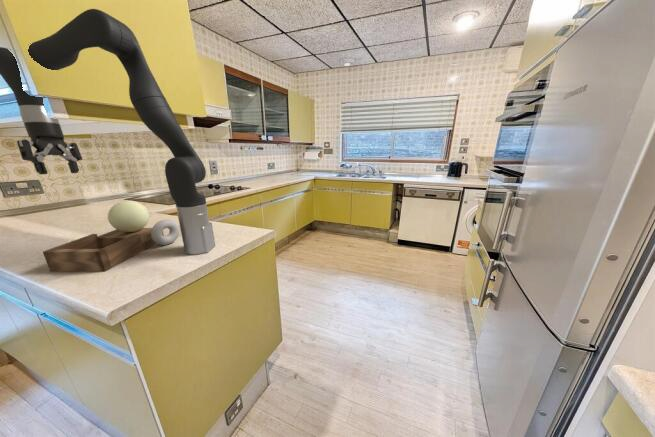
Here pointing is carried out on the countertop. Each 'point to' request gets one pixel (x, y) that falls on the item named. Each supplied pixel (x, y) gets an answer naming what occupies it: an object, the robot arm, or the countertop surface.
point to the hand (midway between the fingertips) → (60, 173)
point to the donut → (159, 227)
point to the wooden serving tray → (98, 251)
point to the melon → (128, 216)
